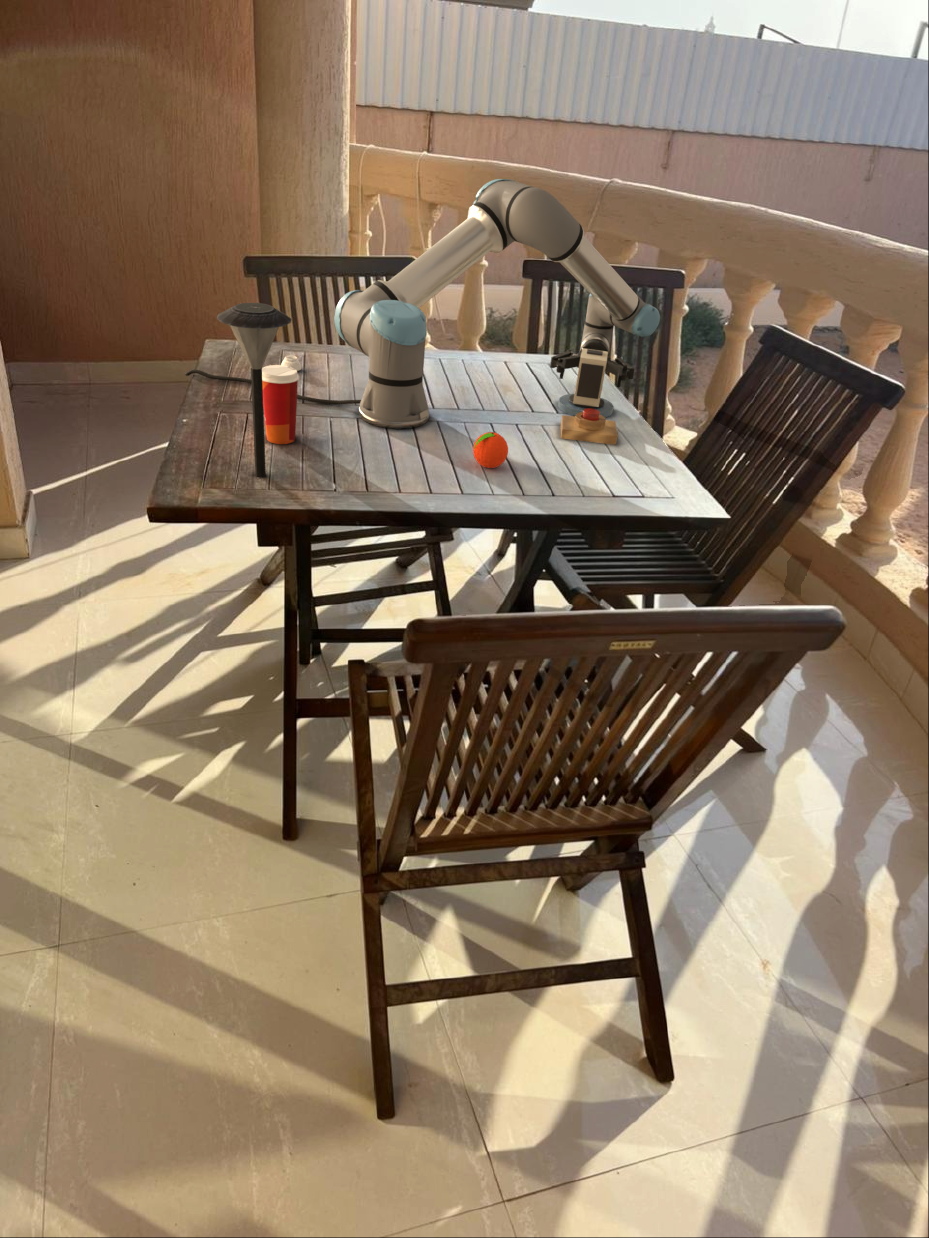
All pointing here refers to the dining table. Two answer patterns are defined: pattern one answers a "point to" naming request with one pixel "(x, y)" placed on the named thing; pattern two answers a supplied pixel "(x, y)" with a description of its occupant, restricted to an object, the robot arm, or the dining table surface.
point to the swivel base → (574, 409)
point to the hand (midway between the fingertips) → (590, 377)
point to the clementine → (490, 450)
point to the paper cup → (280, 402)
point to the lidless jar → (292, 362)
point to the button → (591, 414)
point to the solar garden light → (255, 357)
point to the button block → (588, 429)
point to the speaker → (590, 379)
